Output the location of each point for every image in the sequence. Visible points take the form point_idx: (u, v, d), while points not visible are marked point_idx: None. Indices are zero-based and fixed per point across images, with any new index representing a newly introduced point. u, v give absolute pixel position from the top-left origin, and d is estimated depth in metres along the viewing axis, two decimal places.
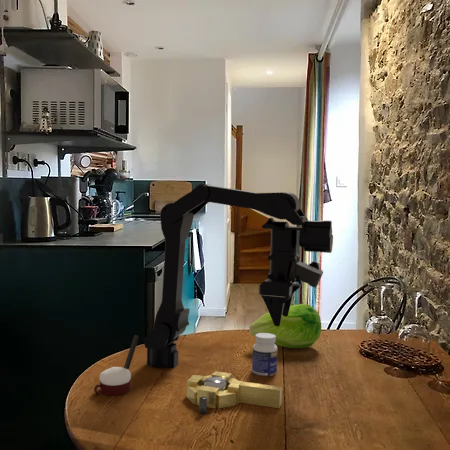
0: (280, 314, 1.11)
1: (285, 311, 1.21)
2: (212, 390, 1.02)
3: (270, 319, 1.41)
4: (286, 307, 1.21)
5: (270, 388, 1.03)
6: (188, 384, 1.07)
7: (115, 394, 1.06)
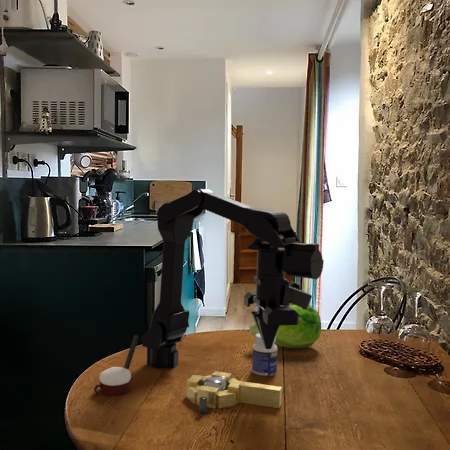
0: (273, 336, 1.08)
1: None
2: (212, 390, 1.02)
3: None
4: None
5: (270, 388, 1.03)
6: (188, 384, 1.07)
7: (115, 394, 1.06)
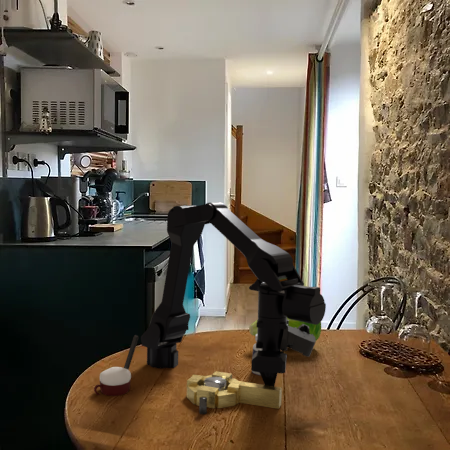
0: (274, 380, 1.05)
1: None
2: (212, 390, 1.02)
3: None
4: None
5: (270, 388, 1.03)
6: (188, 384, 1.07)
7: (115, 394, 1.06)
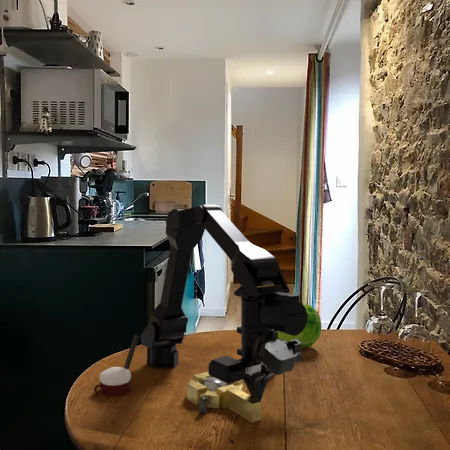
0: (256, 393, 0.98)
1: None
2: (198, 387, 1.04)
3: None
4: None
5: (247, 399, 0.97)
6: (194, 378, 1.10)
7: (115, 394, 1.06)
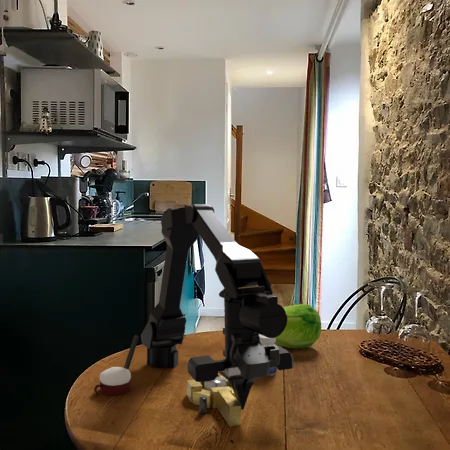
0: (239, 396, 0.96)
1: (240, 403, 0.97)
2: (194, 384, 1.05)
3: None
4: None
5: (229, 402, 0.96)
6: None
7: (115, 394, 1.06)
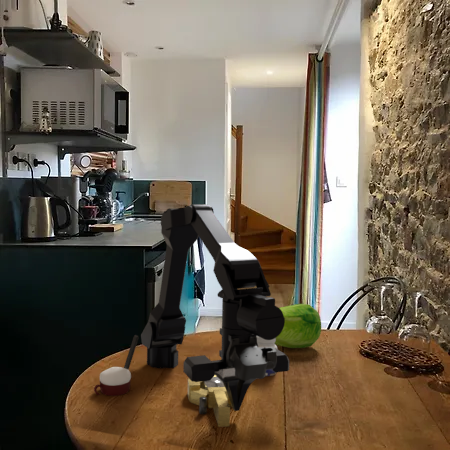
0: (232, 397, 0.96)
1: None
2: (192, 383, 1.05)
3: None
4: None
5: (219, 402, 0.96)
6: None
7: (115, 394, 1.06)
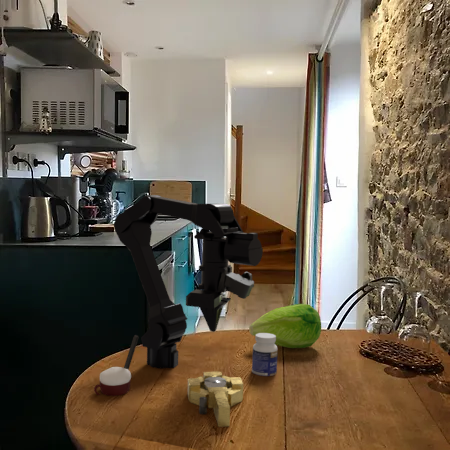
0: (215, 320, 1.16)
1: None
2: (192, 383, 1.05)
3: (270, 319, 1.41)
4: None
5: (219, 402, 0.96)
6: None
7: (115, 394, 1.06)
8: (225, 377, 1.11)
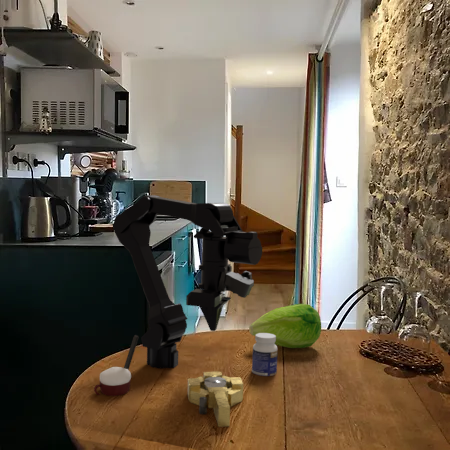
0: (215, 319, 1.16)
1: None
2: (192, 383, 1.05)
3: (270, 319, 1.41)
4: None
5: (219, 402, 0.96)
6: None
7: (115, 394, 1.06)
8: (225, 377, 1.11)
